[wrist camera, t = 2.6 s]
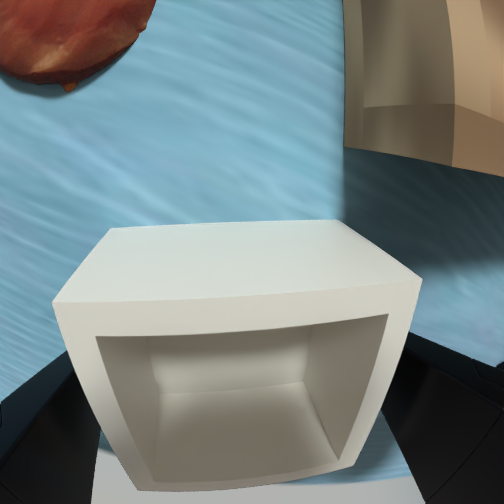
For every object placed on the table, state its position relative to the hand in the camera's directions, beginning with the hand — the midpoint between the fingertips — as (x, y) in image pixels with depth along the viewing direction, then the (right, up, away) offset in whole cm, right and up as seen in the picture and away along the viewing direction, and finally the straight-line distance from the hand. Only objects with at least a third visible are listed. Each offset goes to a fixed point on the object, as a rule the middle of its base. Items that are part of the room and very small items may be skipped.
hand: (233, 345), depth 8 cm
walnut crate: (+10, +11, -1) cm, 15 cm away
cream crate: (0, 0, +1) cm, 1 cm away
